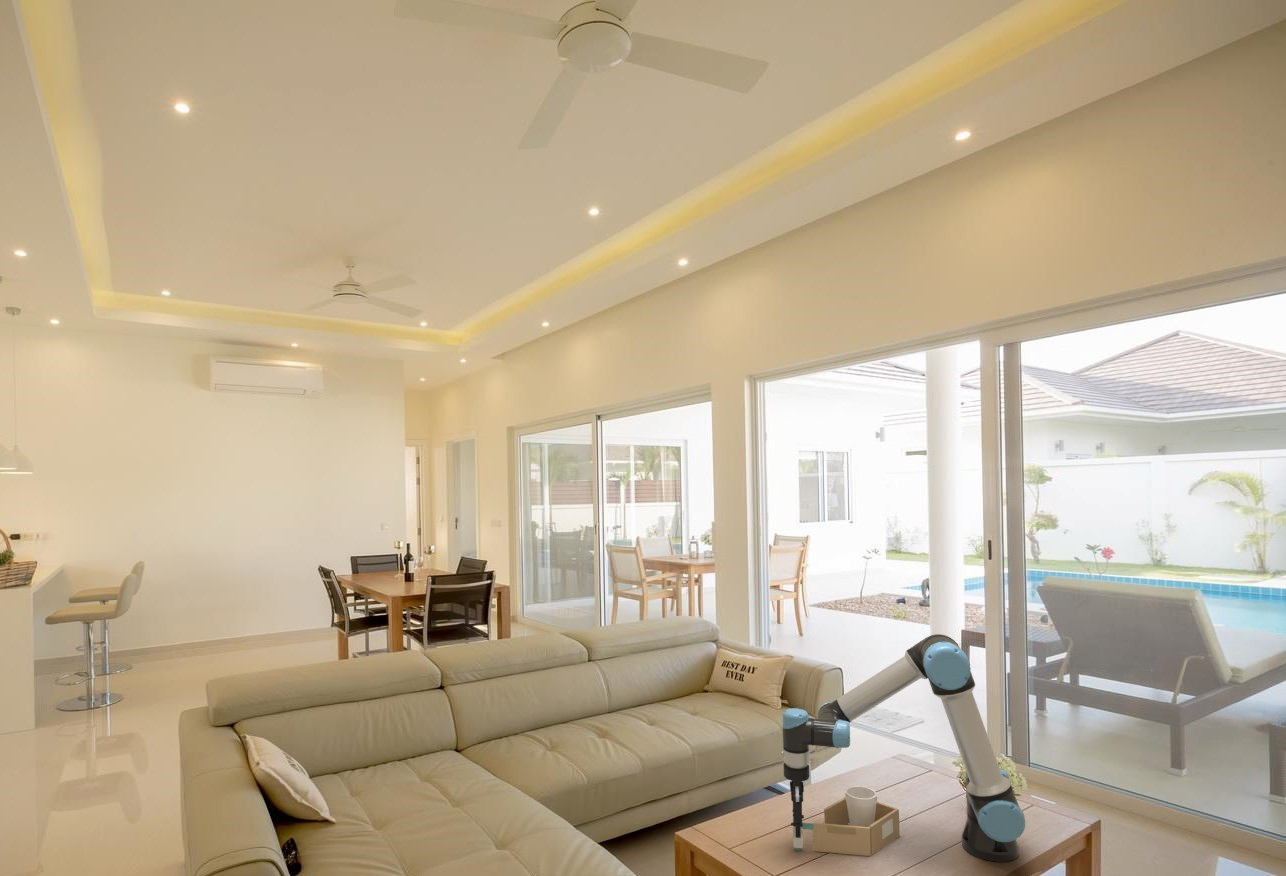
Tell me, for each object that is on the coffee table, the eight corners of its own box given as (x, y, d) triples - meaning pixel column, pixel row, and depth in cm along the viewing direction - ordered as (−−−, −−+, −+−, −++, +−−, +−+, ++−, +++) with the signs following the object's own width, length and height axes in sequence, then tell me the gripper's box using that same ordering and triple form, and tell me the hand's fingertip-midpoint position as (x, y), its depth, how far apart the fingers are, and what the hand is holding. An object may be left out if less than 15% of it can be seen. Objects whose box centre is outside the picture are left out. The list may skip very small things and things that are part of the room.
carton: (899, 836, 222) (899, 809, 222) (872, 855, 211) (871, 827, 211) (853, 818, 234) (852, 792, 234) (824, 835, 223) (824, 808, 223)
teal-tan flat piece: (870, 853, 212) (869, 815, 212) (871, 857, 209) (869, 818, 210) (794, 846, 216) (793, 809, 217) (794, 850, 214) (793, 812, 214)
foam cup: (843, 839, 220) (841, 795, 221) (849, 825, 229) (848, 783, 229) (875, 846, 216) (874, 801, 217) (880, 832, 224) (879, 789, 225)
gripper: (783, 752, 224) (784, 830, 223) (783, 773, 209) (785, 857, 208) (808, 754, 223) (809, 832, 222) (810, 775, 208) (812, 859, 206)
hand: (798, 844), depth 215 cm, fingers closed on teal-tan flat piece, 2 cm apart
